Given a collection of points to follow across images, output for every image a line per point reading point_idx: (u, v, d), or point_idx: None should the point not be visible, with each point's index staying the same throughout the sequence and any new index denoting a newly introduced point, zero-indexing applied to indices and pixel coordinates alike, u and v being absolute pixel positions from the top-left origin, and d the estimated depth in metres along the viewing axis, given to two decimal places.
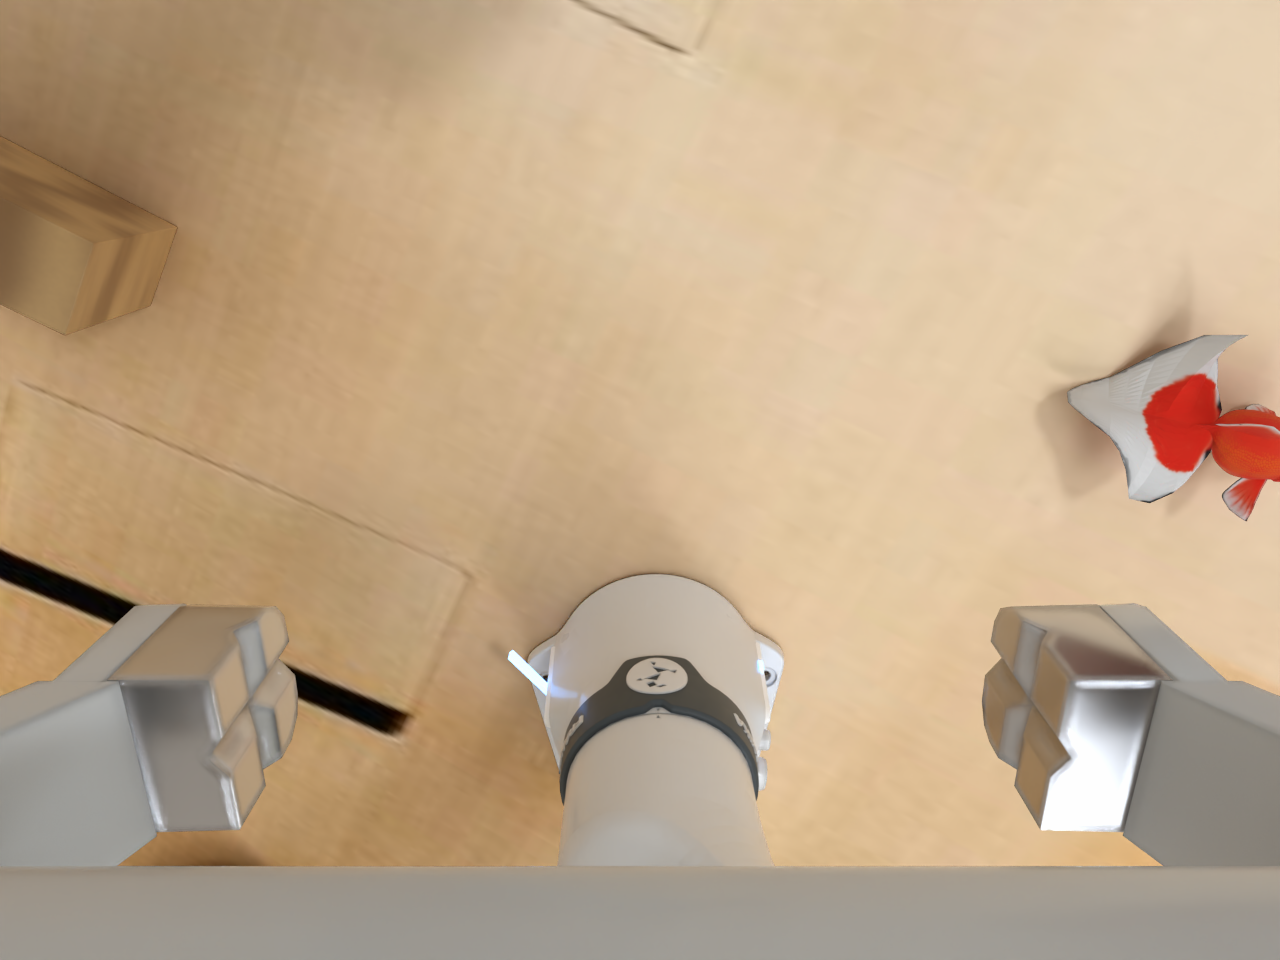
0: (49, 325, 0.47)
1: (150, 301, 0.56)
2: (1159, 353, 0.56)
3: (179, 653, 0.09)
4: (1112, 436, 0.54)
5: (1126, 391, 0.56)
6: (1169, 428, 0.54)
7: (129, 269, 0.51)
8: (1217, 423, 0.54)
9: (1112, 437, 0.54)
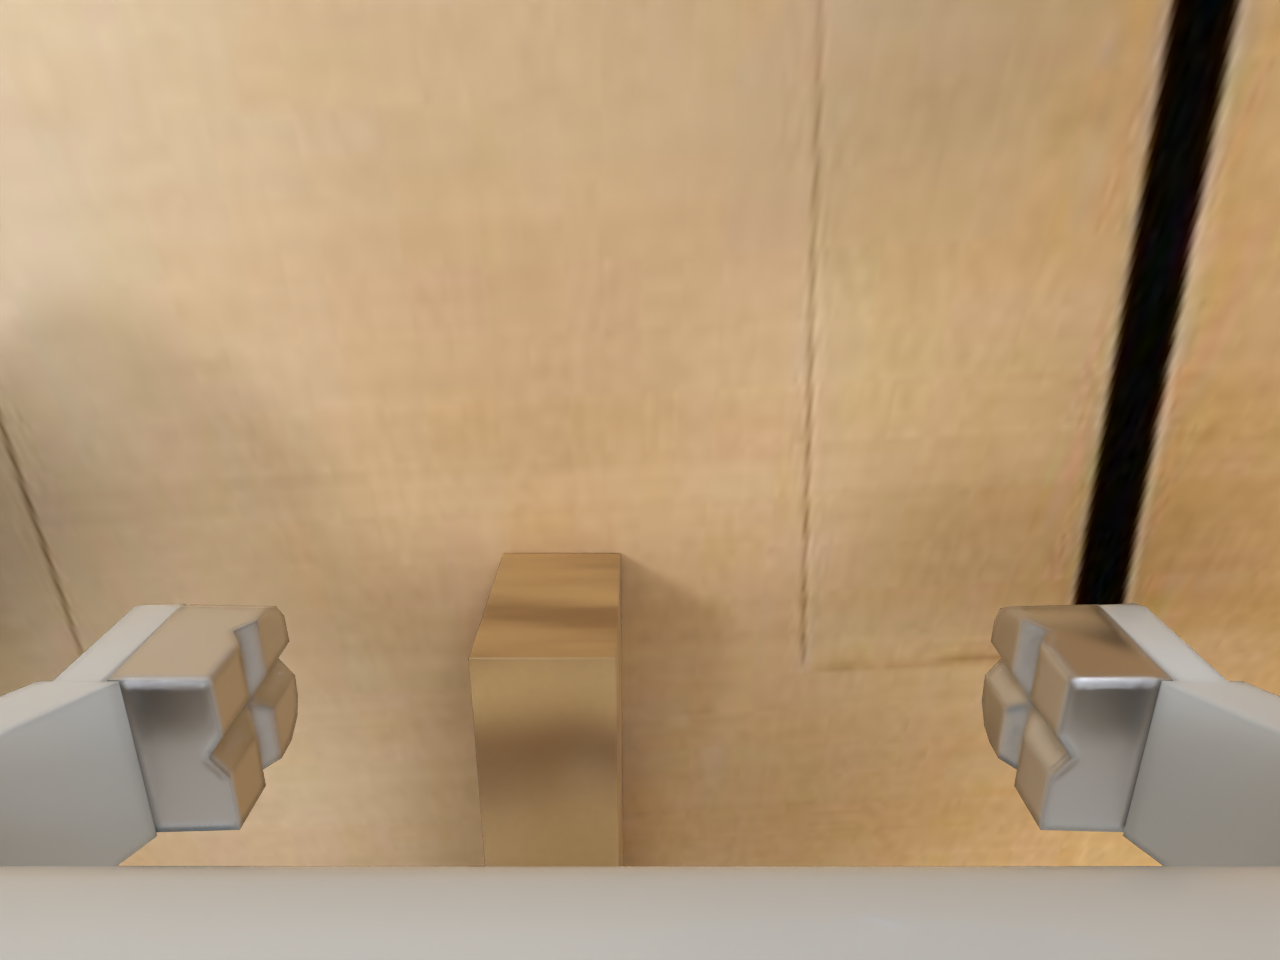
0: (611, 677, 0.33)
1: (612, 555, 0.41)
2: None
3: (179, 653, 0.09)
4: None
5: None
6: None
7: (541, 596, 0.37)
8: None
9: None
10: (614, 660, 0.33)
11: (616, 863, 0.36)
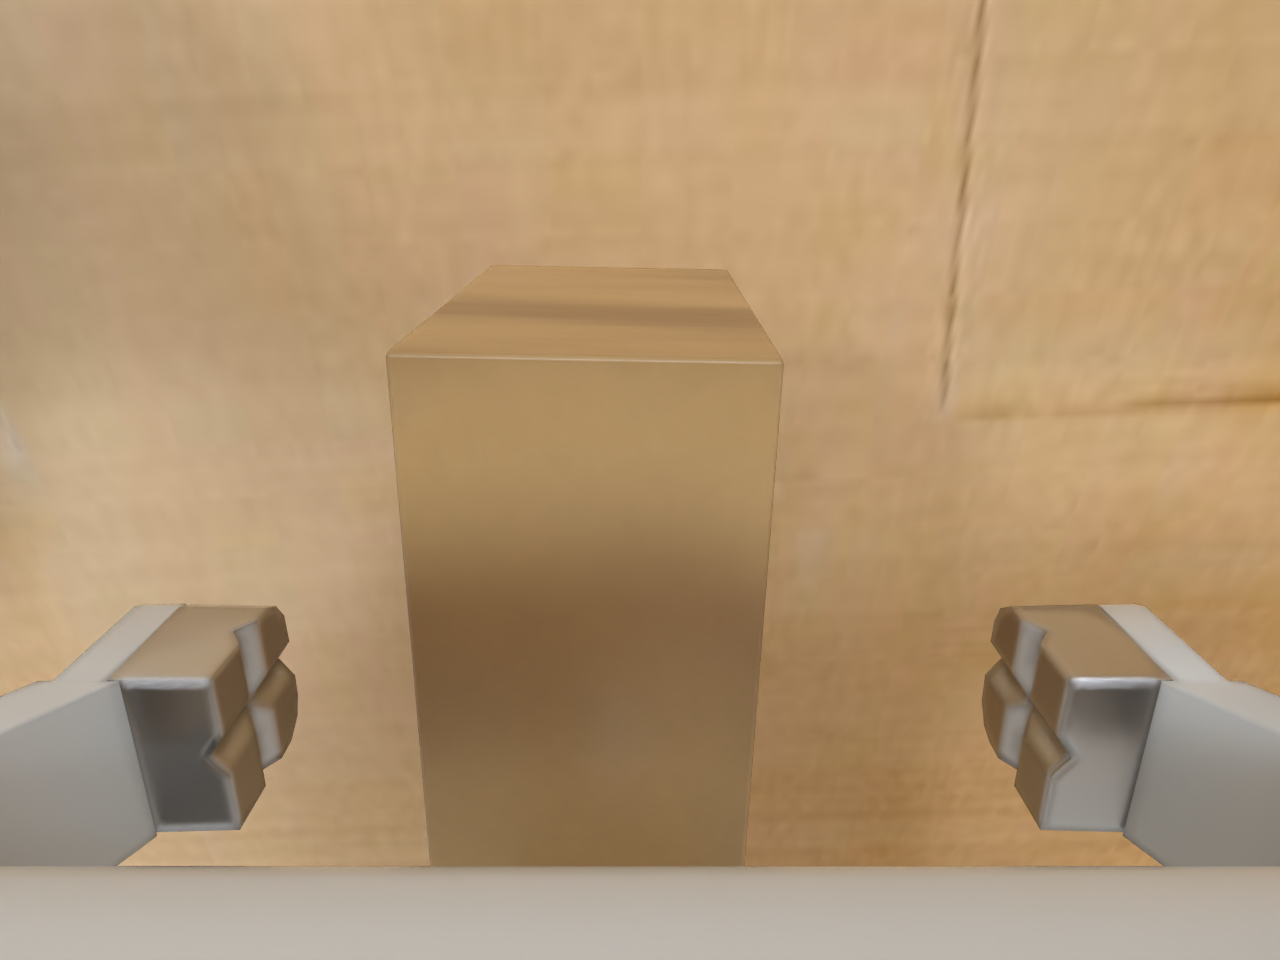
0: (766, 420, 0.12)
1: (712, 270, 0.20)
2: None
3: (179, 653, 0.09)
4: None
5: None
6: None
7: (573, 297, 0.17)
8: None
9: None
10: (779, 368, 0.12)
11: None
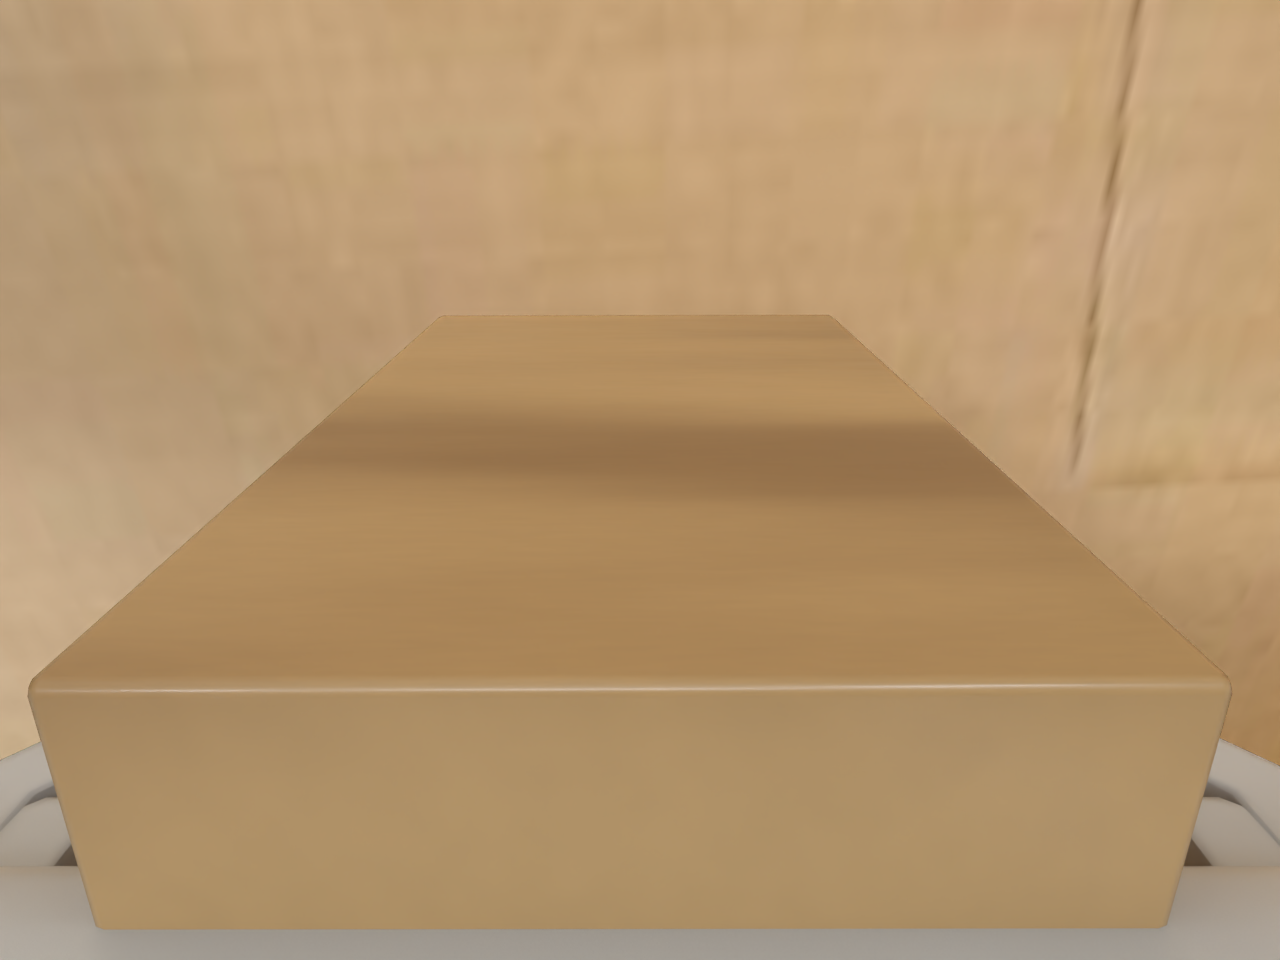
0: (1159, 836, 0.04)
1: (808, 317, 0.12)
2: None
3: None
4: None
5: None
6: None
7: (582, 397, 0.08)
8: None
9: None
10: (1220, 703, 0.04)
11: None
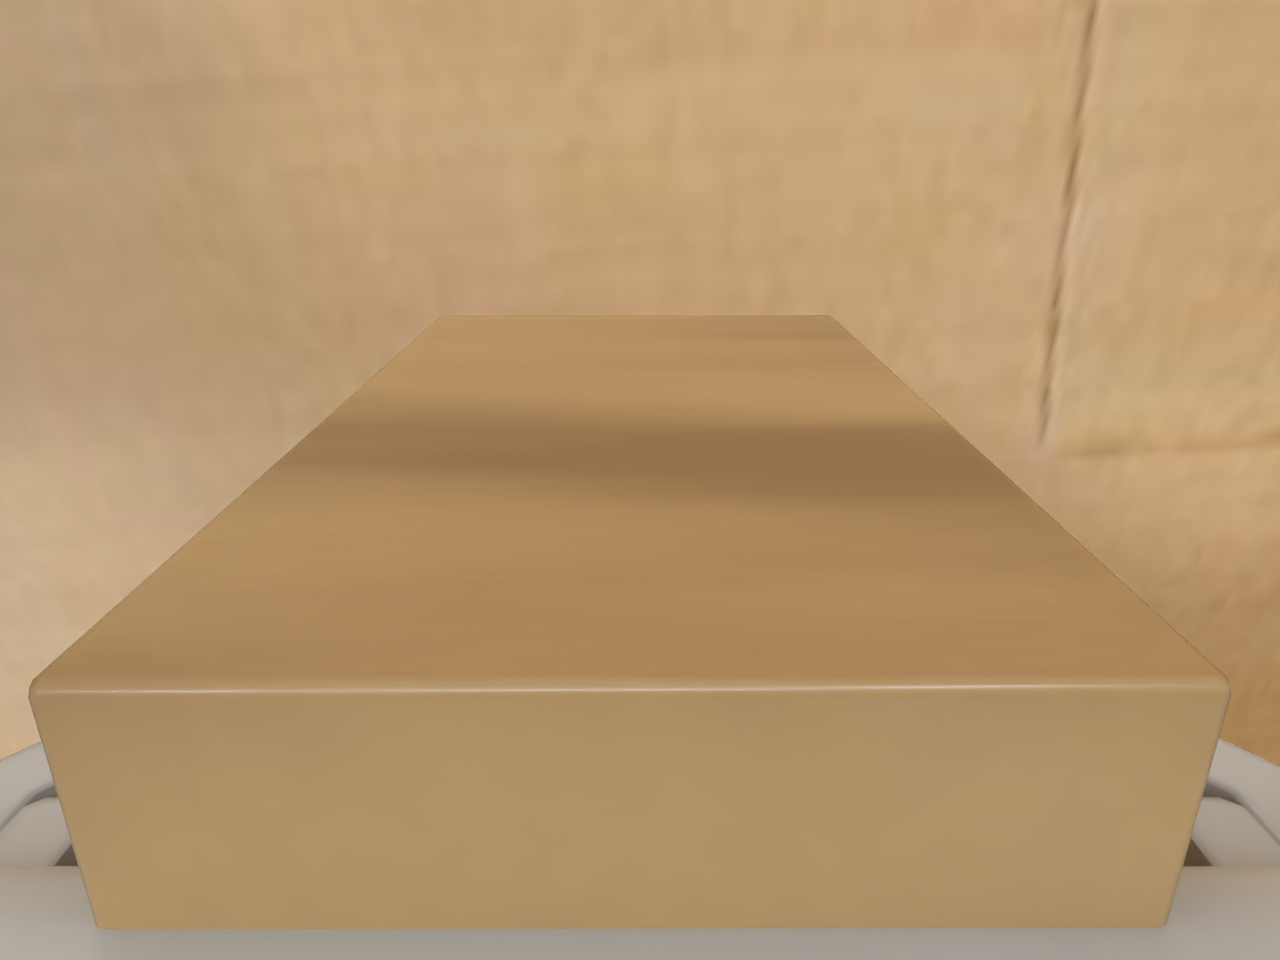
0: (1161, 836, 0.04)
1: (808, 318, 0.12)
2: None
3: None
4: None
5: None
6: None
7: (582, 398, 0.08)
8: None
9: None
10: (1219, 703, 0.04)
11: None
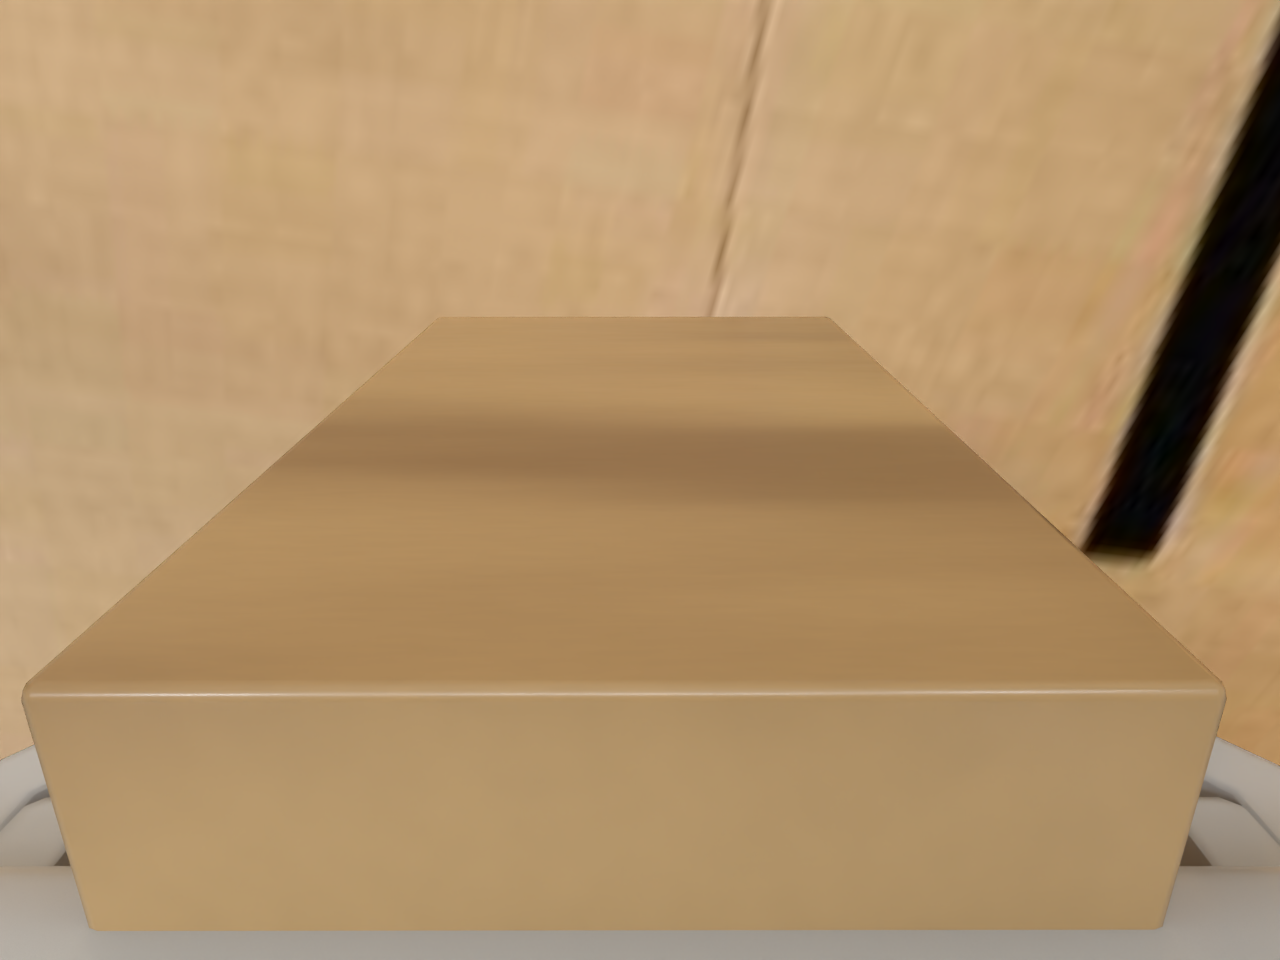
0: (1156, 841, 0.04)
1: (806, 319, 0.12)
2: None
3: None
4: None
5: None
6: None
7: (578, 399, 0.08)
8: None
9: None
10: (1214, 709, 0.04)
11: None
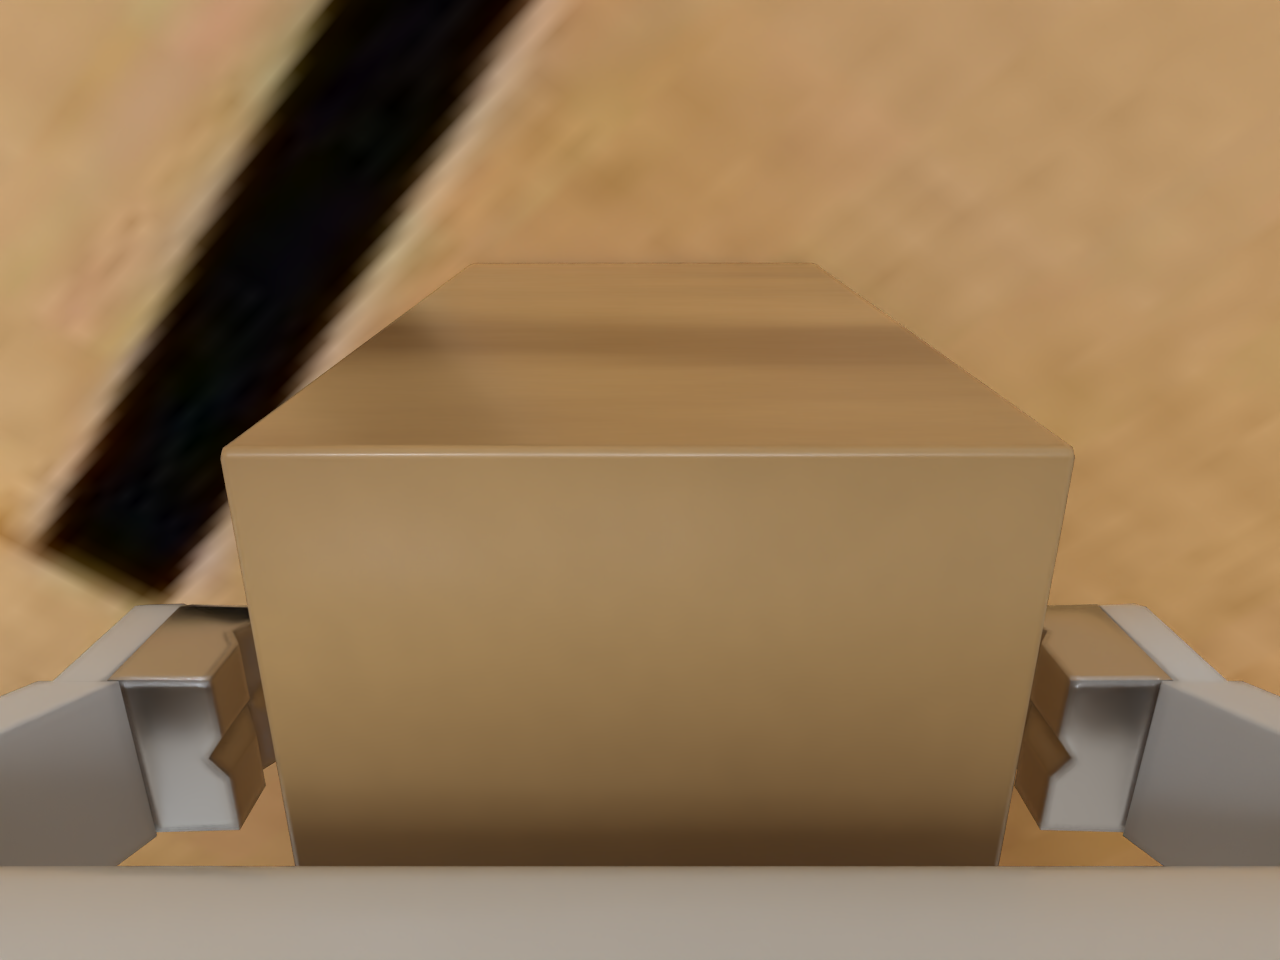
0: (1030, 570, 0.06)
1: (795, 264, 0.14)
2: None
3: (179, 653, 0.09)
4: None
5: None
6: None
7: (600, 311, 0.10)
8: None
9: None
10: (1067, 465, 0.06)
11: None
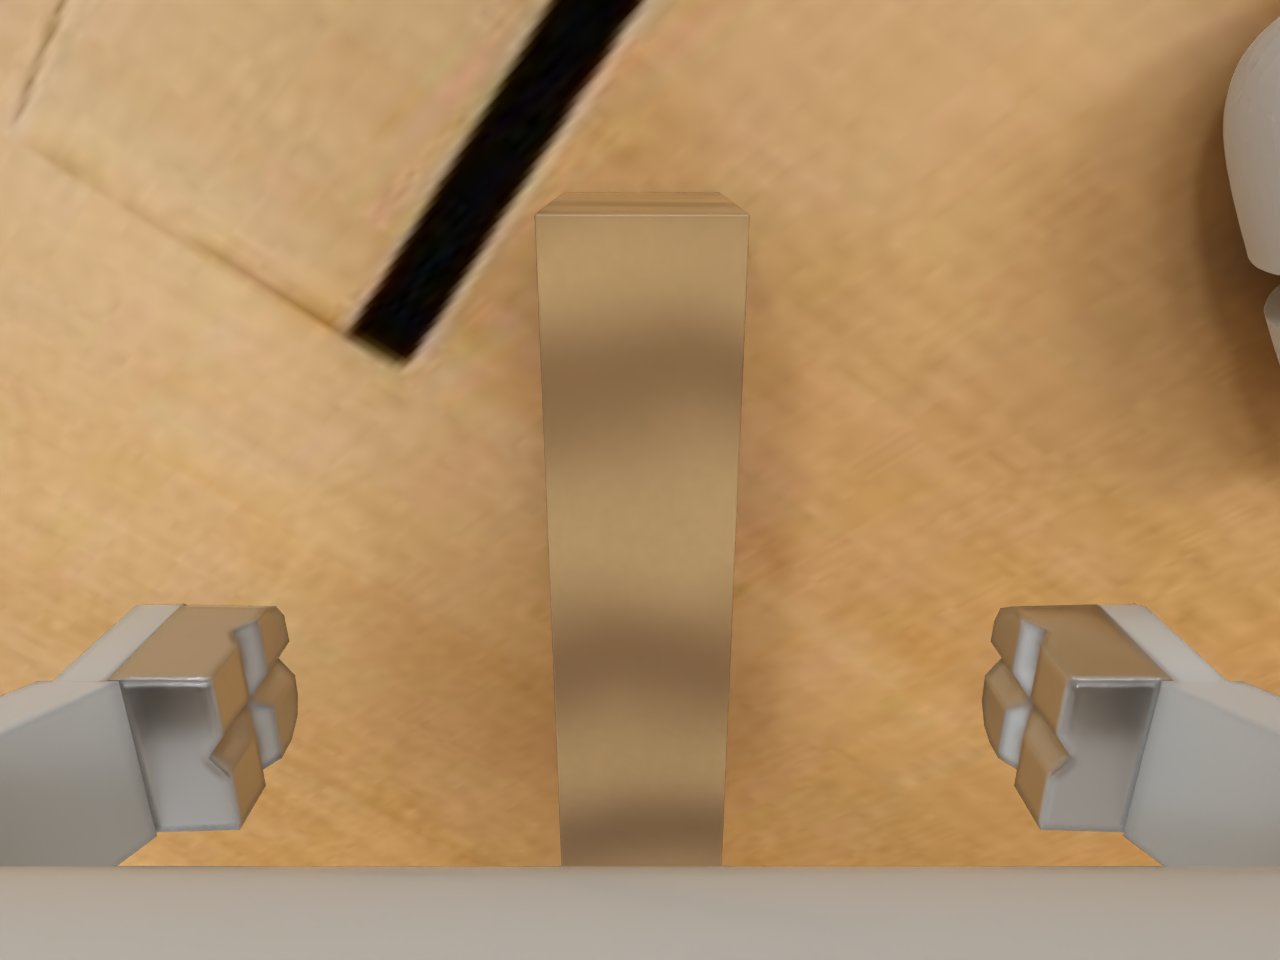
0: (741, 248, 0.23)
1: None
2: None
3: (179, 653, 0.09)
4: None
5: None
6: None
7: (625, 200, 0.27)
8: None
9: None
10: (747, 218, 0.23)
11: (732, 560, 0.26)
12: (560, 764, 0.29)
